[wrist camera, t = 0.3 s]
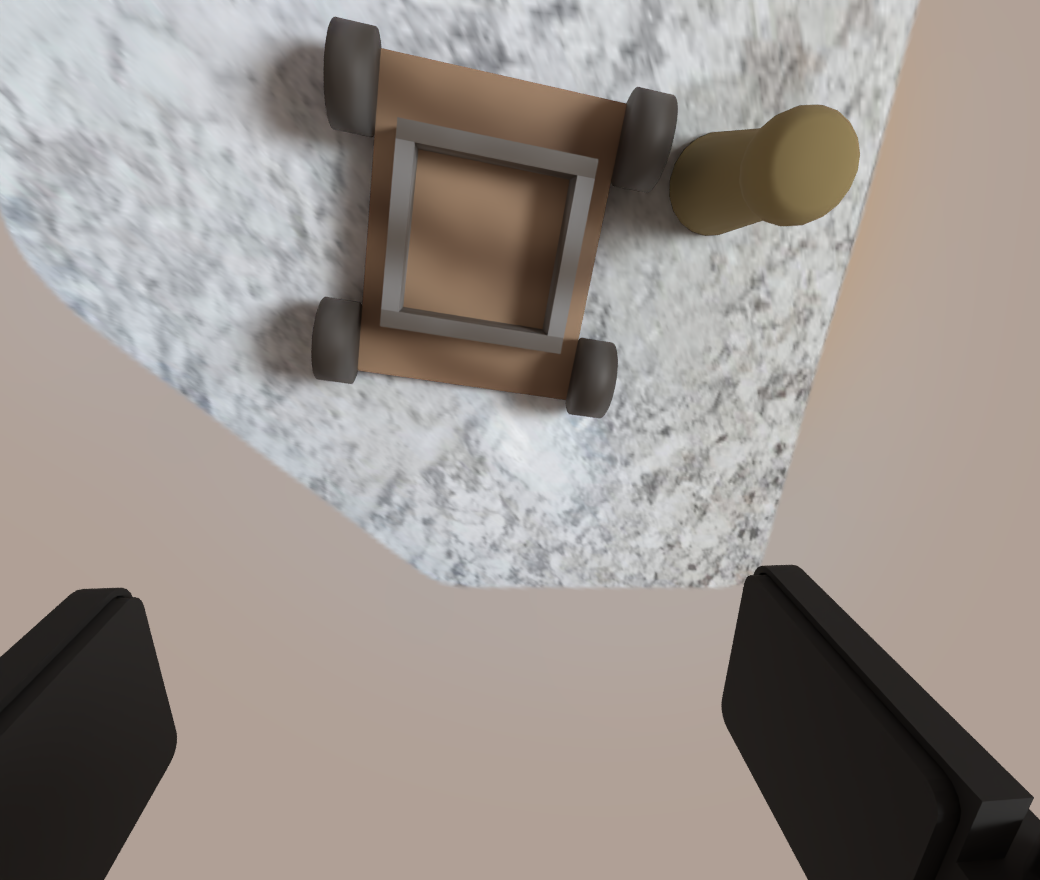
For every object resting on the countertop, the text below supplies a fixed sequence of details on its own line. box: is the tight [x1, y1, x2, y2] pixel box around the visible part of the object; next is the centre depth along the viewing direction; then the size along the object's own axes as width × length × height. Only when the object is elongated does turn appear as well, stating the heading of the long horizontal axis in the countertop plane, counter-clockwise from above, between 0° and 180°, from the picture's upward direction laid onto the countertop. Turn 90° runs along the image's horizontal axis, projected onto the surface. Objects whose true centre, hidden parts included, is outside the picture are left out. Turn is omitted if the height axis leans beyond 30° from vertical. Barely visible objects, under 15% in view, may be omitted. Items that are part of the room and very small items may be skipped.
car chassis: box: [311, 17, 678, 418], centre depth 32 cm, size 19×18×5 cm
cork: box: [669, 105, 860, 236], centre depth 30 cm, size 6×6×11 cm
